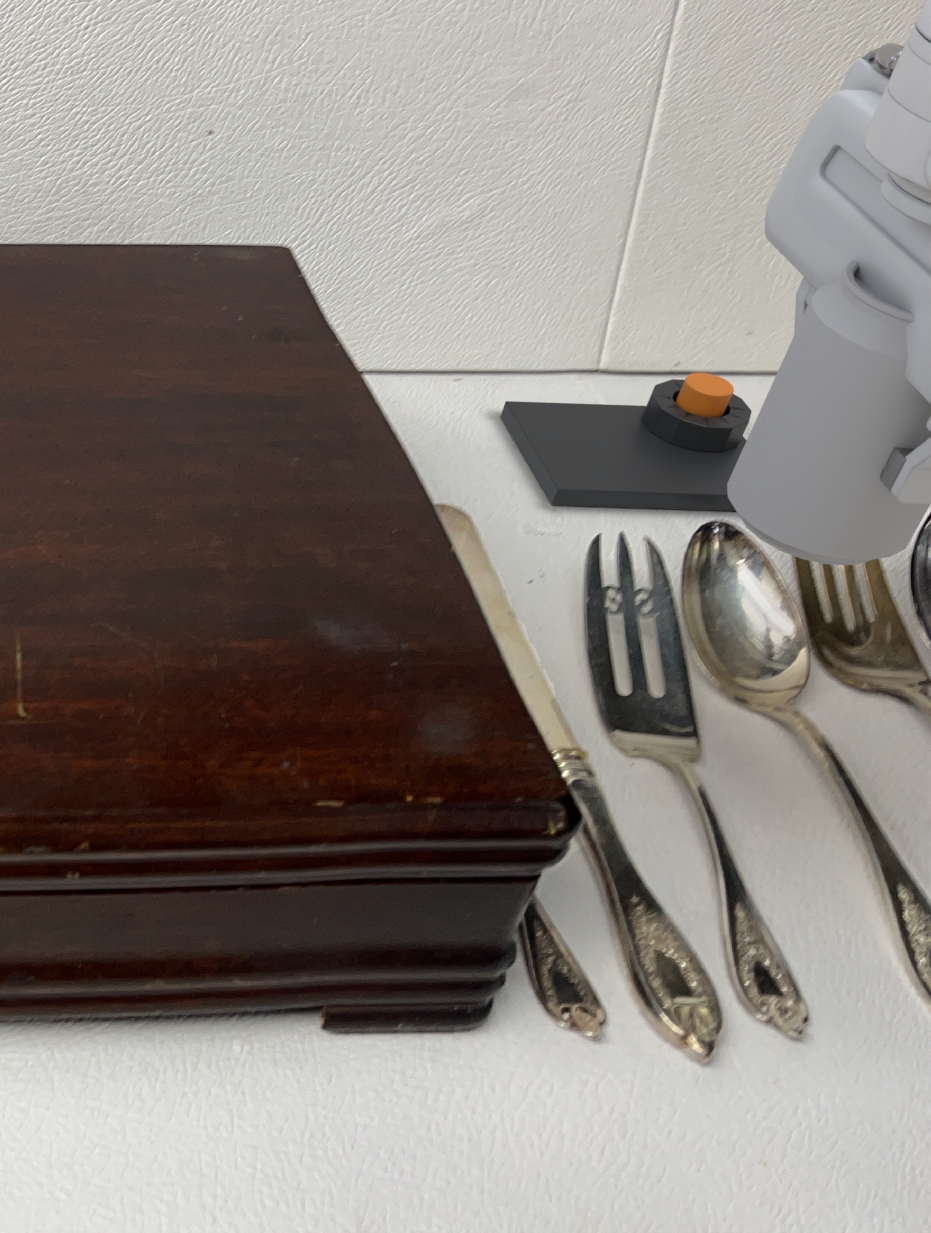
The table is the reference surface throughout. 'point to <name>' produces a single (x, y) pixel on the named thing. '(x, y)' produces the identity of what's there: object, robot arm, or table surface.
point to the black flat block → (631, 451)
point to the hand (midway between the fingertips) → (854, 436)
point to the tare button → (705, 395)
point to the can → (834, 434)
